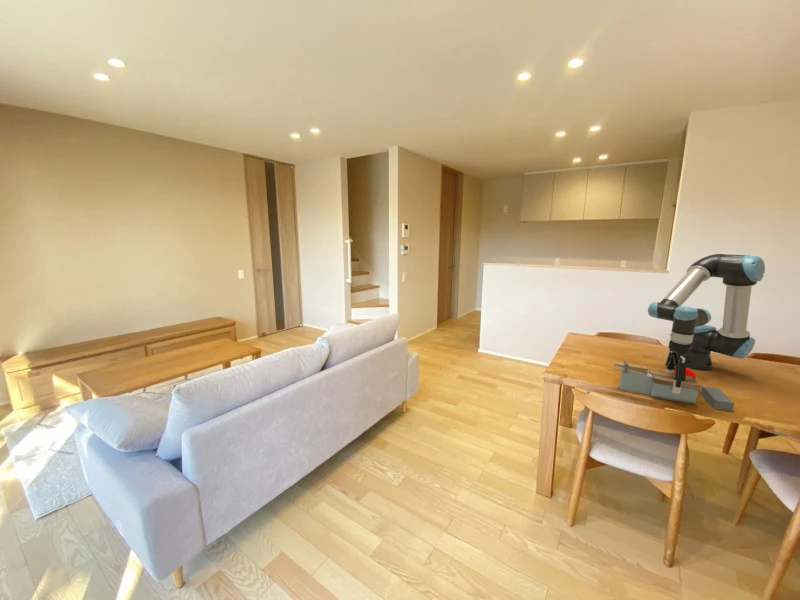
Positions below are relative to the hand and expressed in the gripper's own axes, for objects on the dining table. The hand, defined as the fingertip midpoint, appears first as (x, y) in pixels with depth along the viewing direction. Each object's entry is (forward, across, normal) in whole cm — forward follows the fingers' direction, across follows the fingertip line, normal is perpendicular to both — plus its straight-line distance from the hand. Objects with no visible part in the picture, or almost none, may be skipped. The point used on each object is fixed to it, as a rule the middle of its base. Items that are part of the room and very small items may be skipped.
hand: (671, 387), depth 150 cm
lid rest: (+5, -2, +17) cm, 17 cm away
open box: (+4, 0, 0) cm, 4 cm away
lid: (-3, 0, 0) cm, 3 cm away
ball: (+5, -19, +10) cm, 22 cm away
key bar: (-5, 0, -17) cm, 17 cm away
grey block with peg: (+4, 0, -14) cm, 15 cm away
